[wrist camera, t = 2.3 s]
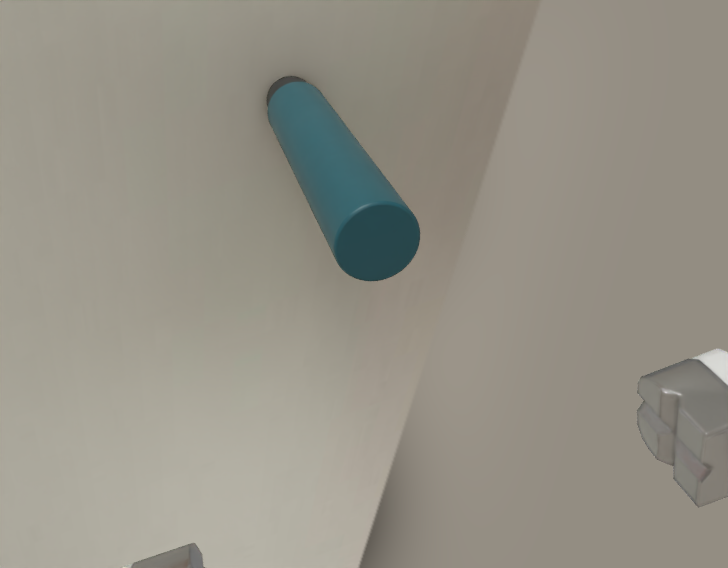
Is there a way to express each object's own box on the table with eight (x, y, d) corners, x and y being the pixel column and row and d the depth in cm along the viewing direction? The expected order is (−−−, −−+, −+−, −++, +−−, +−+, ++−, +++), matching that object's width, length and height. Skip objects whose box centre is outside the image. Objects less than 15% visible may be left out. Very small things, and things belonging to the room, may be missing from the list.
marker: (310, 63, 28) (413, 190, 18) (324, 118, 30) (428, 265, 19) (254, 80, 28) (324, 219, 18) (271, 134, 30) (346, 293, 19)
